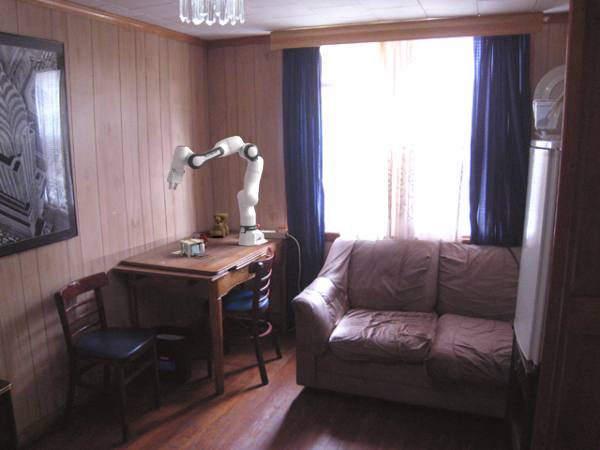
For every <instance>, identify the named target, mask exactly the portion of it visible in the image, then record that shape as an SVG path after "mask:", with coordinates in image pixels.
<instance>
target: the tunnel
mask: <svg viewBox="0 0 600 450" xmlns="http://www.w3.org/2000/svg"><path fill="white" fill-rule="evenodd" d="M198 242H201V244H203V240H201V239H196V238H195V239H193V238H191V239H186V240H184V241H181V242H180V241H179V251H180V254H179V256H180V257H183V256H184V253H183V244H184V245H187V254H186V256H187V259H189V257H190V258H191V255H190V244H196V243H198ZM196 245H197V244H196Z"/></svg>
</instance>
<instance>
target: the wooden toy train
mask: <svg viewBox="0 0 600 450" xmlns="http://www.w3.org/2000/svg"><path fill="white" fill-rule="evenodd" d="M213 219H214V223H213V226H212V228H210V231H209V234H210V237H211V238H214V237H215V236H217V237H218V236H219V237H222V238H226V236H227V235H229V233H230V228H229V226H228V219H229V213H227V212H217V213H214V214H213Z"/></svg>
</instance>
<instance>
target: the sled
mask: <svg viewBox="0 0 600 450" xmlns="http://www.w3.org/2000/svg"><path fill="white" fill-rule="evenodd" d="M181 241H185V240H184V239H180V240H179V243H180V242H181ZM205 248H206V247H204V244H200V248H199V245H196V244H190V256H197V255H198V256H201V255H205V254H206V253H205V252H206V249H205ZM183 252H185V253H184V254H185V255H187V244H183Z"/></svg>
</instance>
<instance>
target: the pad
mask: <svg viewBox="0 0 600 450" xmlns="http://www.w3.org/2000/svg"><path fill="white" fill-rule="evenodd" d="M171 254H174V255H180V250H177V251H173V252H171ZM183 254H185V253H184V252H183Z"/></svg>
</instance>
